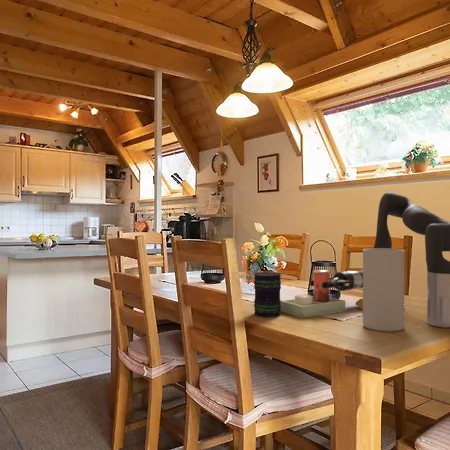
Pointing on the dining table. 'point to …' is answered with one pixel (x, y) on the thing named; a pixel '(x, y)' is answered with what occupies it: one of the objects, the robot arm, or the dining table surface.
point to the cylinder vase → (383, 289)
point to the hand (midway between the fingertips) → (316, 284)
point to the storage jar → (267, 294)
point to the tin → (319, 292)
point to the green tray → (312, 308)
